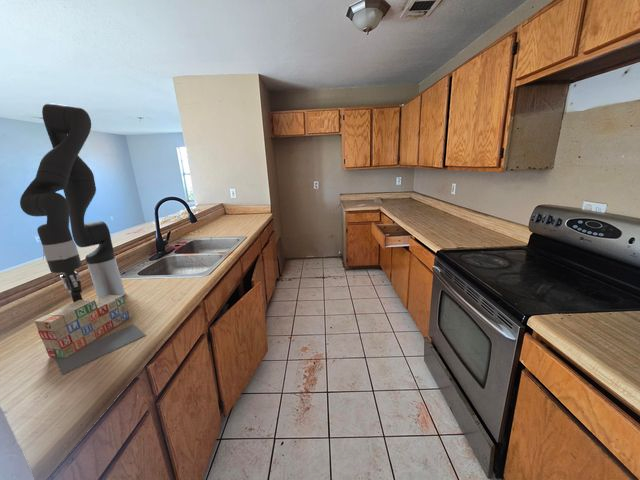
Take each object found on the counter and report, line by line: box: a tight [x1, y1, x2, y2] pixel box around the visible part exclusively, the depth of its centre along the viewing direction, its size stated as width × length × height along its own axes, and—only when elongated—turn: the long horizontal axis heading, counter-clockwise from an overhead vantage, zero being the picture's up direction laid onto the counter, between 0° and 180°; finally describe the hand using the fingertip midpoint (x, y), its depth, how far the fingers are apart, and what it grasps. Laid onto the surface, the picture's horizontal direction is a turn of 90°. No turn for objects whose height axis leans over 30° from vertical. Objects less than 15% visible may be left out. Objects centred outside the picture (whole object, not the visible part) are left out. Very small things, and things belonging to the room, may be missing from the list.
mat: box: [54, 324, 147, 376], centre depth 80 cm, size 11×20×1 cm, turn 143°
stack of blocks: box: [34, 295, 131, 358], centre depth 84 cm, size 21×6×12 cm, turn 168°
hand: (78, 303), depth 88 cm, fingers closed
